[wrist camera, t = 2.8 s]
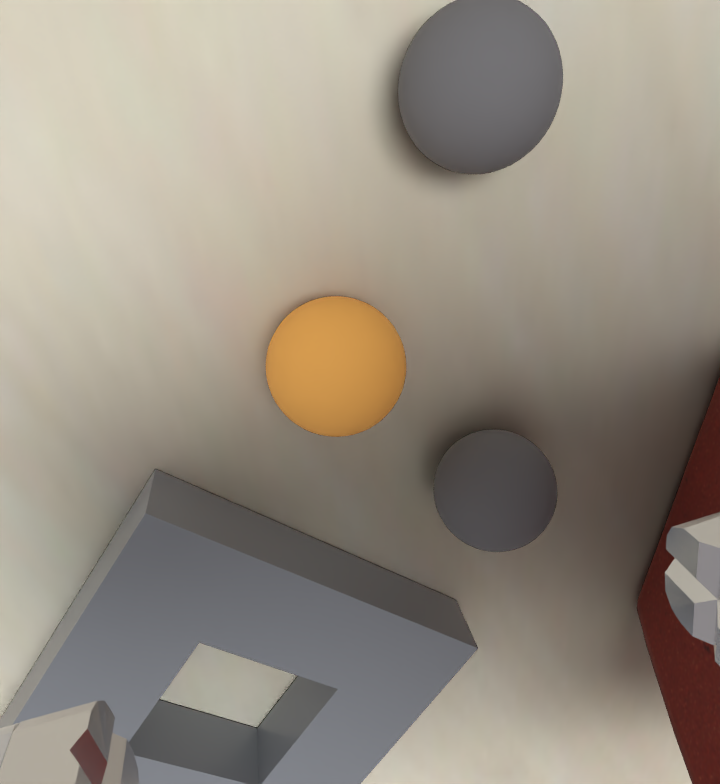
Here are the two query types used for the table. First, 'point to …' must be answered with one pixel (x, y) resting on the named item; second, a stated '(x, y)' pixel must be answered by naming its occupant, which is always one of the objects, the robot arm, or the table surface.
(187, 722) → the grey square frame
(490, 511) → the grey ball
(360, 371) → the orange ball
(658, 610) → the plant pot
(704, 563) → the robot arm
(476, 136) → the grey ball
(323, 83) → the table surface
